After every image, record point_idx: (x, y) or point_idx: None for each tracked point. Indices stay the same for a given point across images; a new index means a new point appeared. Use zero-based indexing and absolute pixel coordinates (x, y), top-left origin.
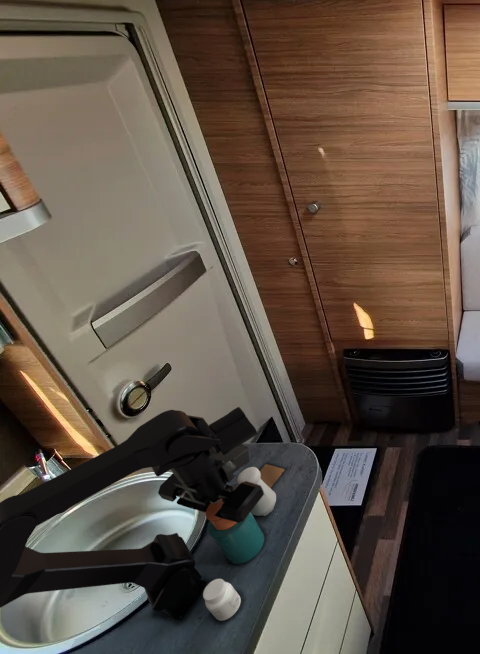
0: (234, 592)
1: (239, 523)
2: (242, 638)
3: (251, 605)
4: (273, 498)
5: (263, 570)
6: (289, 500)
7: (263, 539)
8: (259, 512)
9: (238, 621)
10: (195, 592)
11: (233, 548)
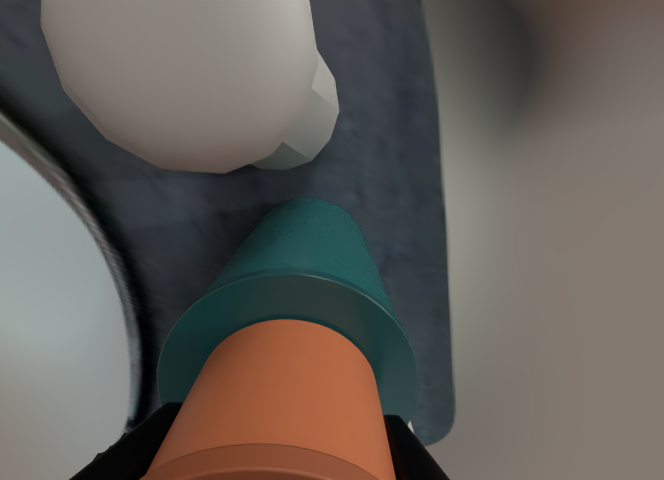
0: (410, 427)
1: (392, 406)
2: (447, 434)
3: (429, 381)
4: (332, 83)
5: (413, 307)
6: (367, 55)
7: (361, 231)
8: (304, 162)
9: (416, 412)
10: None
11: None
